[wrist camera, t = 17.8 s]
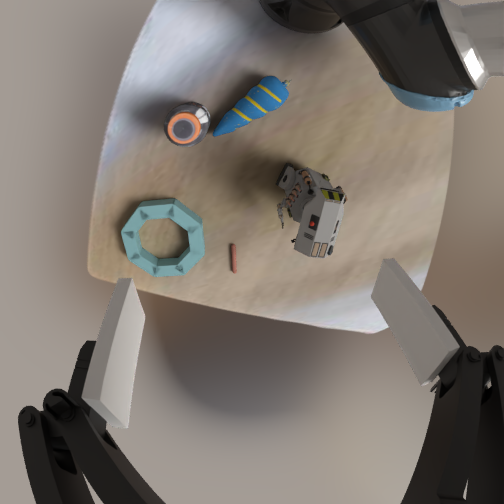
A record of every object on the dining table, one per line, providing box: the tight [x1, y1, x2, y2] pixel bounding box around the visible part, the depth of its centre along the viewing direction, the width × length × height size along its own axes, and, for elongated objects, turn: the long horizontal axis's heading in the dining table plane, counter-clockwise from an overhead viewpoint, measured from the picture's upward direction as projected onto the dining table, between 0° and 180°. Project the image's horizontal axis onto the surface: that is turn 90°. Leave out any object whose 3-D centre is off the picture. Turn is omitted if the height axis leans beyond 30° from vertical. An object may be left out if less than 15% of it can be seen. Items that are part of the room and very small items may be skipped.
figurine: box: [276, 163, 347, 258], centre depth 42 cm, size 9×12×15 cm
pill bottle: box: [164, 102, 210, 147], centre depth 34 cm, size 6×6×11 cm
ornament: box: [213, 76, 290, 136], centre depth 37 cm, size 5×5×15 cm
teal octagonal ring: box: [121, 198, 205, 277], centre depth 49 cm, size 15×15×2 cm
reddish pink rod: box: [231, 244, 236, 273], centre depth 54 cm, size 7×1×1 cm, turn 0°
